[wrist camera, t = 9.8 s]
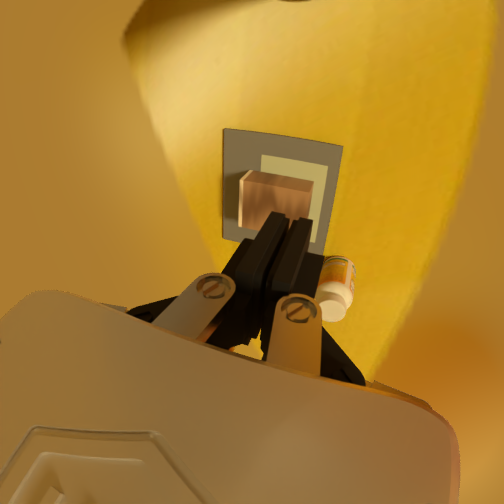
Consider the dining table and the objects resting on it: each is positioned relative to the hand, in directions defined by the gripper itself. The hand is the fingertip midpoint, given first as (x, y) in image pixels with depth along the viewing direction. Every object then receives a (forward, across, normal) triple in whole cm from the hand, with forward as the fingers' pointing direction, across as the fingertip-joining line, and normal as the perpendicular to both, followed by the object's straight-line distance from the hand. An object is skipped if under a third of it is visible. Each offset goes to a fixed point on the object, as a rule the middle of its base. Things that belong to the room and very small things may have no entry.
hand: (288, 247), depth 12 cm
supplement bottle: (+29, -4, +22) cm, 37 cm away
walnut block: (+27, +11, +12) cm, 31 cm away
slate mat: (+29, +7, +12) cm, 32 cm away
